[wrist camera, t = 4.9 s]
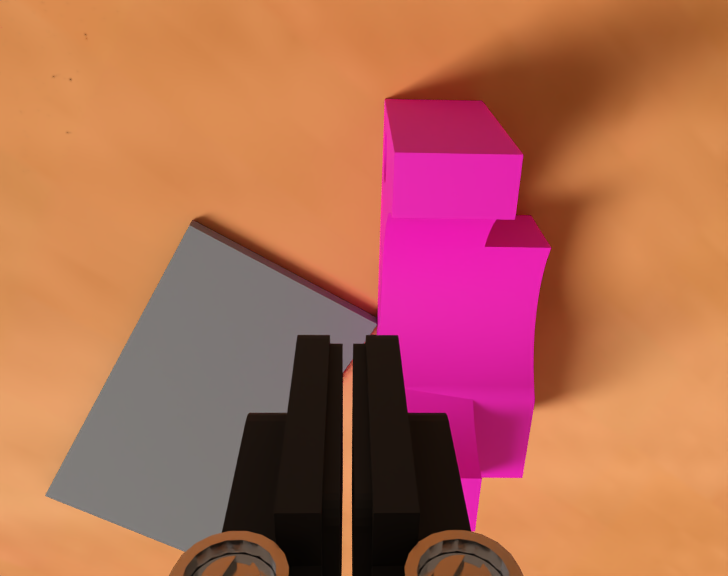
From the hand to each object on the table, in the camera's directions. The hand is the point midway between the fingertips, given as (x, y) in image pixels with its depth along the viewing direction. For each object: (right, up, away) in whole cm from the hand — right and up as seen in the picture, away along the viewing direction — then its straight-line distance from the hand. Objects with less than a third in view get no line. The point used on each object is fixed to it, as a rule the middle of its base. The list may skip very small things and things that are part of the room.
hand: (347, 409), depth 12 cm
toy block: (+4, +3, +19) cm, 19 cm away
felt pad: (-7, -4, +21) cm, 23 cm away
